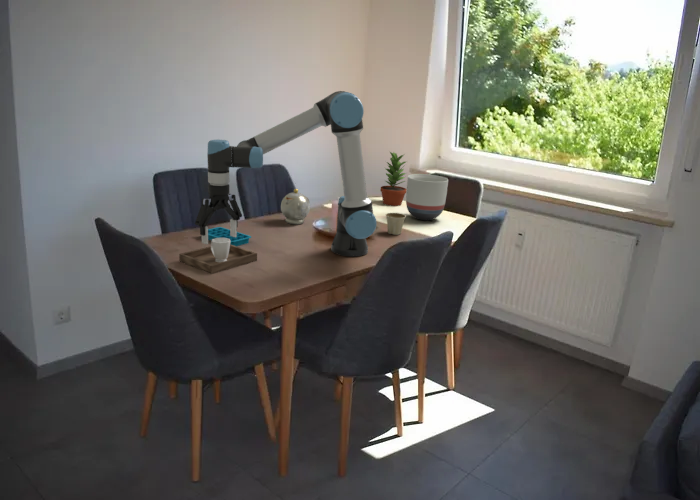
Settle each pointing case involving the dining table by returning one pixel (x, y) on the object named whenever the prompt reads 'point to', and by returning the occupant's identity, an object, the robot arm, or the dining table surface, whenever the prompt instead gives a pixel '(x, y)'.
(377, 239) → the dining table surface
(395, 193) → the potted plant
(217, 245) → the cup
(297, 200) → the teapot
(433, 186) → the planter
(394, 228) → the flower pot
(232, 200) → the robot arm
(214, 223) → the dining table surface
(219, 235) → the ice cube tray
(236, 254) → the tray
